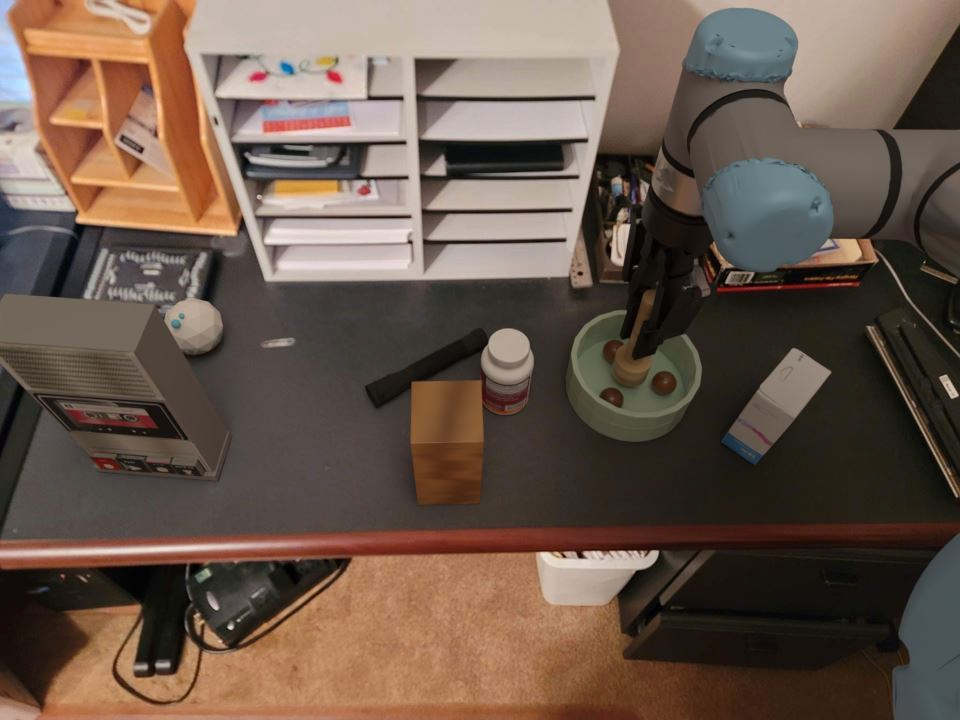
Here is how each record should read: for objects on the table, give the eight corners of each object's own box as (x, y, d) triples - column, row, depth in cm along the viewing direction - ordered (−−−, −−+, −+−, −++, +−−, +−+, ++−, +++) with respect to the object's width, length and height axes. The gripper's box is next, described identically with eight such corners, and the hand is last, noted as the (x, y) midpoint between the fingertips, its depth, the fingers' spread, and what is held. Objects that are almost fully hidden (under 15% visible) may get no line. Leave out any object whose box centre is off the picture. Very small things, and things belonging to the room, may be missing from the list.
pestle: (652, 382, 85) (680, 308, 74) (619, 390, 84) (642, 315, 73) (638, 354, 88) (664, 278, 76) (605, 361, 87) (626, 285, 76)
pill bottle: (491, 367, 89) (495, 314, 80) (536, 385, 88) (545, 333, 79) (470, 405, 86) (472, 354, 77) (516, 424, 84) (524, 375, 75)
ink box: (755, 468, 82) (795, 418, 72) (719, 442, 84) (753, 390, 74) (791, 422, 86) (834, 369, 76) (755, 398, 87) (792, 343, 78)
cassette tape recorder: (97, 474, 79) (-30, 348, 59) (117, 427, 83) (3, 292, 62) (218, 484, 79) (132, 360, 58) (232, 436, 83) (157, 303, 62)
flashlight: (366, 394, 86) (363, 381, 84) (476, 335, 92) (477, 321, 89) (378, 411, 85) (375, 399, 82) (489, 351, 90) (490, 337, 88)
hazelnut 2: (625, 412, 85) (630, 400, 82) (603, 419, 84) (607, 407, 82) (614, 392, 86) (619, 379, 84) (592, 399, 86) (596, 386, 83)
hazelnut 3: (677, 395, 86) (684, 382, 84) (656, 402, 86) (662, 389, 83) (666, 376, 88) (672, 363, 86) (644, 383, 87) (650, 370, 85)
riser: (477, 448, 83) (481, 379, 70) (480, 503, 79) (484, 441, 66) (418, 449, 82) (411, 381, 70) (417, 505, 78) (410, 443, 66)
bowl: (710, 420, 86) (726, 394, 81) (597, 458, 82) (606, 433, 77) (651, 325, 94) (662, 297, 89) (546, 356, 90) (551, 328, 85)
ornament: (179, 323, 92) (157, 283, 85) (234, 321, 92) (217, 282, 85) (169, 366, 88) (145, 328, 81) (226, 364, 88) (208, 326, 82)
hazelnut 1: (628, 364, 89) (633, 350, 87) (607, 370, 88) (611, 356, 86) (617, 346, 91) (622, 332, 88) (596, 352, 90) (600, 338, 87)
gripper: (615, 146, 66) (580, 304, 85) (698, 262, 58) (639, 407, 77) (685, 130, 67) (635, 288, 87) (776, 240, 59) (698, 388, 79)
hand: (637, 344), depth 82 cm, fingers closed on pestle, 2 cm apart
